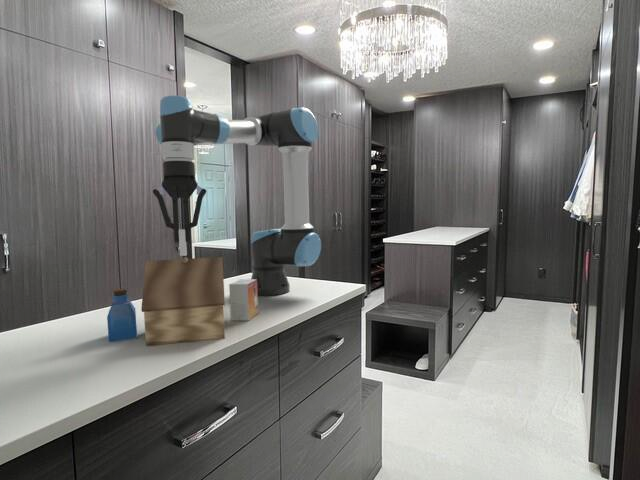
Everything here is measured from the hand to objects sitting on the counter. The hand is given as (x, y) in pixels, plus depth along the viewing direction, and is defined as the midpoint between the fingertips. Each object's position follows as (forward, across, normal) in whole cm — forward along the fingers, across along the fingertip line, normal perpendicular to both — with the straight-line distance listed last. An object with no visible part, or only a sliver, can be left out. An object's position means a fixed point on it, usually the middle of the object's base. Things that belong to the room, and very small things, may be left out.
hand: (183, 255), depth 105 cm
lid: (+7, 0, -3) cm, 8 cm away
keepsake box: (+20, 0, -1) cm, 20 cm away
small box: (+20, +15, +10) cm, 27 cm away
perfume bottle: (+21, -16, +2) cm, 26 cm away
